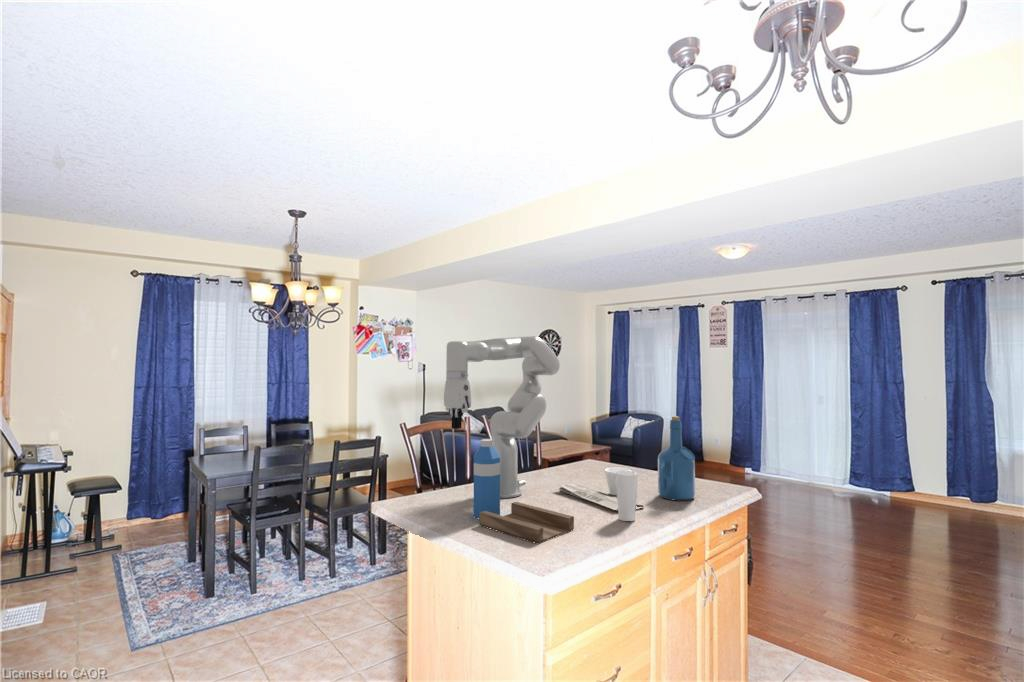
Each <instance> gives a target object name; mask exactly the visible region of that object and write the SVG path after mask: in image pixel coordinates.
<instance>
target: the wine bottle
mask: <svg viewBox="0 0 1024 682" xmlns="http://www.w3.org/2000/svg"><path fill="white" fill-rule="evenodd" d="M682 430H683V428H682V422H681V420H680V416H678V415H677V416H676V415H673V416H671V420H670V422H669V446H668V447H667V448H665V449H663V450H662V451H660V453H659V454H658V455H657V484H658V485H657V492H658V495H659V496H660V497H661V498H663V497H664V498H663V499H666V498H667V499H666V500H669V499H674V500H673V501H676V500H685V501H689V500H693V499H694V498H695V496H696V472H695V471H696V464H695V463H696V462H695V461H696V460H695V459H696V456H695V455H694V453H693V452H692V451H691V450H690V449H688V448H687V447H685V446H683V439H682Z"/></svg>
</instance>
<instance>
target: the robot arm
mask: <svg viewBox="0 0 1024 682" xmlns="http://www.w3.org/2000/svg"><path fill="white" fill-rule="evenodd" d="M514 359H523V360H522V363H521V369H522V382H521V384H520V385H519V387H518V388H517V389H516V391H515V392H514V393H513V394H512V396H511V397H510V399H509V400H508V401H507V402H508V403H507V410H500V411H497V412H495V413H493V415H491V418H490V421H489V427H490V433H491V438H492V440H493V447H494V448H495V450H496V451H497V453H498V454H499V456H500V499H507V498H509V499H510V498H516V497H519V496H521V495H522V489H520V488H521V487H522V486H526V483H527V482H526V481H525V480H519V478H518V445H517V441H516V439H526V438H527V437H529V436H530V434H531V433H532V432H533V431H534V430H535V428H536V427H537V426H538V424H539V422H540V421H541V420H542V418H543V416H544V415H545V413H546V411H547V400H546V398H545V397H544V396H543V395H542V394H541V392H542V384H541V381H540V378H539V377H540V376H548V377H549V376H553V375H556V374H557V373H558V372H559V370H560V365H561V364H560V360H559V358H558V356H557V355H556V354H555V352H554V351H553V350H552V349H551V348H550V346H549V345H548V344H547V343H546V341H544V340H543V339H542V338H540V337H538V336H530V335H529V336H515V337H514V336H513V337H498V338H490V339H483V340H470V341H461V340H454V341H453V340H452V341H448V342H447V344H446V360H445V361H446V369H445V370H446V372H445V375H446V377H445V384H444V391H443V405H444V406H445V411H447V412H449V414H450V418H451V429H452V430H453V429H454V430H457V429H459V430H460V429H462V418H463V417H464V414H465V413H468V412H469V409H470V408H471V406H472V391H471V384H470V380H468V377H469V374H468V373H469V372H468V369H469V368H468V364H469V363H480V362H484V361H507V360H514Z"/></svg>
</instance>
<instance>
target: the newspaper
mask: <svg viewBox="0 0 1024 682" xmlns="http://www.w3.org/2000/svg"><path fill="white" fill-rule="evenodd" d="M558 487H559V489H558V491H560V492H561V493H563V494H567V495H570V496H573V497H575V496H576V498H578V497H579V499H581V500H584V501H587V502H589V501H590V503H592V502H593V504H596V505H598V506H602V507H604V508H607V509H610V510H613V511H615V510H616V512H618V502H617V496H613V495H611V494H608V493H605V492H601V491H599V490H594V489H592V488H588V487H585V486H582V485H579V484H577V483H568V484H561V485H559V484H558ZM636 506H637V507H643V509H644V508H645V507H644V505H643V504H640V503H638V502H636Z"/></svg>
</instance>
